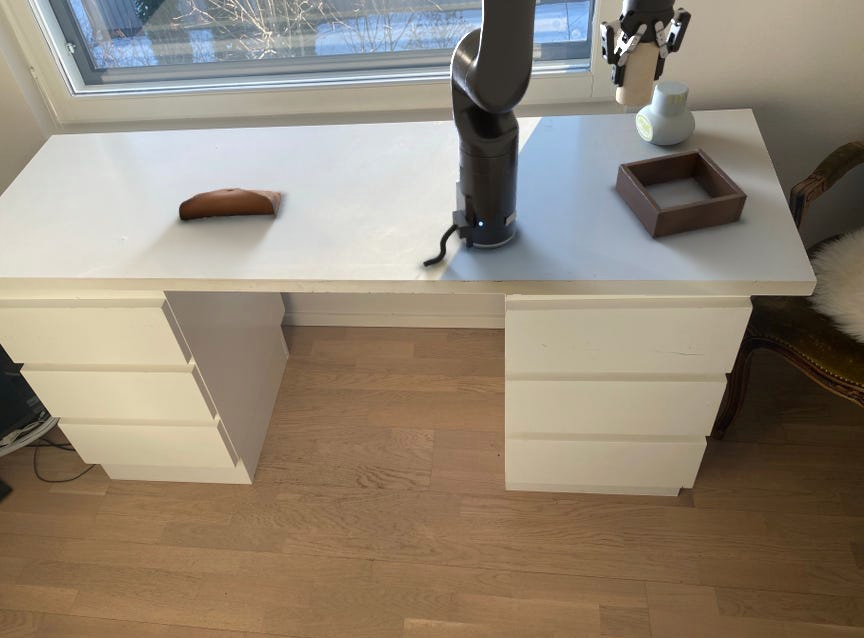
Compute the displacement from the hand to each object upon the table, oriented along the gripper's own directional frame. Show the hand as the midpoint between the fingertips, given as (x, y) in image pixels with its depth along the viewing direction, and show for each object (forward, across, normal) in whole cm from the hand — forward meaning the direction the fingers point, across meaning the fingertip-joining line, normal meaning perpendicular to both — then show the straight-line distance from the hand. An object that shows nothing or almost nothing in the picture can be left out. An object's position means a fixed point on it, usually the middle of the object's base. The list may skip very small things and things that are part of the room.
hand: (635, 81), depth 117 cm
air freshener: (+18, -12, -9) cm, 24 cm away
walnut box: (+18, -5, +11) cm, 22 cm away
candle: (+3, 0, 0) cm, 3 cm away
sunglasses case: (+18, +70, -13) cm, 74 cm away
